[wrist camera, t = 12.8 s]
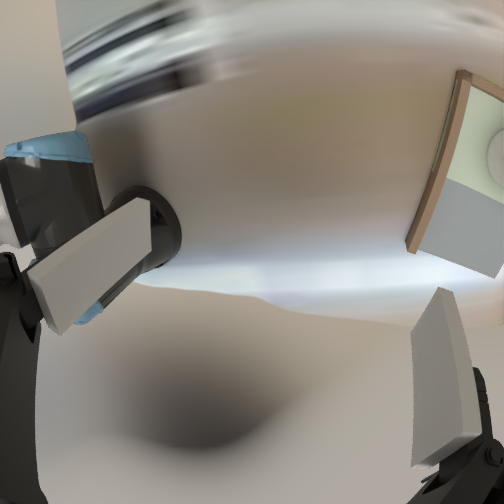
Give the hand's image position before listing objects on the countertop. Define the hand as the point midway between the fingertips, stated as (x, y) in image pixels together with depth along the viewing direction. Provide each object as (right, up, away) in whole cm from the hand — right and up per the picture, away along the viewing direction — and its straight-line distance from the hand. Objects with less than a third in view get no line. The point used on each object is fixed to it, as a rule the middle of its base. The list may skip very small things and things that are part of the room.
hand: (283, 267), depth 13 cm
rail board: (+29, +10, +17) cm, 34 cm away
